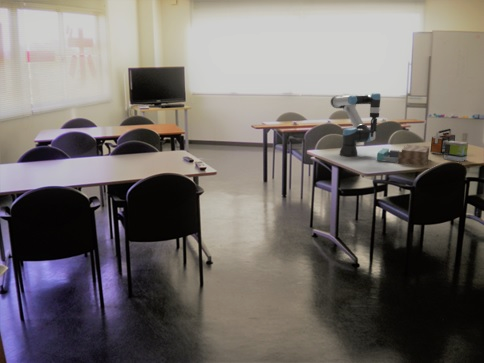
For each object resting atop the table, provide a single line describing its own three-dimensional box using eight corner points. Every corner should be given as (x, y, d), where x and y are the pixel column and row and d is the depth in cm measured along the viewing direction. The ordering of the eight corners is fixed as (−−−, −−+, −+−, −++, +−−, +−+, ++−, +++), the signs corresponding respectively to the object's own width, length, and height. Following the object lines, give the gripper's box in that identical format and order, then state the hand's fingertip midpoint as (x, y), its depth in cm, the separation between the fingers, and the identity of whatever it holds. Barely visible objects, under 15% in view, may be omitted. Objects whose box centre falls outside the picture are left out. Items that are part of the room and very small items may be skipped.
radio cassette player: (440, 155, 430) (443, 132, 426) (429, 153, 437) (431, 131, 432) (454, 150, 451) (456, 129, 446) (442, 149, 458) (445, 127, 453)
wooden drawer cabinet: (397, 163, 396) (399, 149, 394) (403, 157, 421) (404, 144, 418) (424, 165, 388) (425, 152, 385) (428, 159, 412) (429, 146, 410)
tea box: (466, 160, 411) (468, 142, 407) (460, 161, 404) (463, 143, 400) (449, 157, 421) (451, 140, 418) (443, 159, 415) (445, 141, 411)
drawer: (376, 160, 405) (377, 153, 404) (382, 155, 426) (382, 148, 425) (405, 163, 396) (406, 155, 394) (410, 157, 417) (410, 150, 415)
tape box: (389, 158, 410) (389, 150, 408) (390, 156, 414) (390, 149, 413) (398, 158, 407) (398, 151, 405) (398, 157, 411) (399, 150, 410)
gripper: (376, 113, 399) (374, 142, 405) (381, 111, 416) (379, 138, 422) (367, 113, 402) (365, 141, 408) (372, 110, 420) (370, 137, 425)
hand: (372, 139), depth 415 cm, fingers open, 7 cm apart
